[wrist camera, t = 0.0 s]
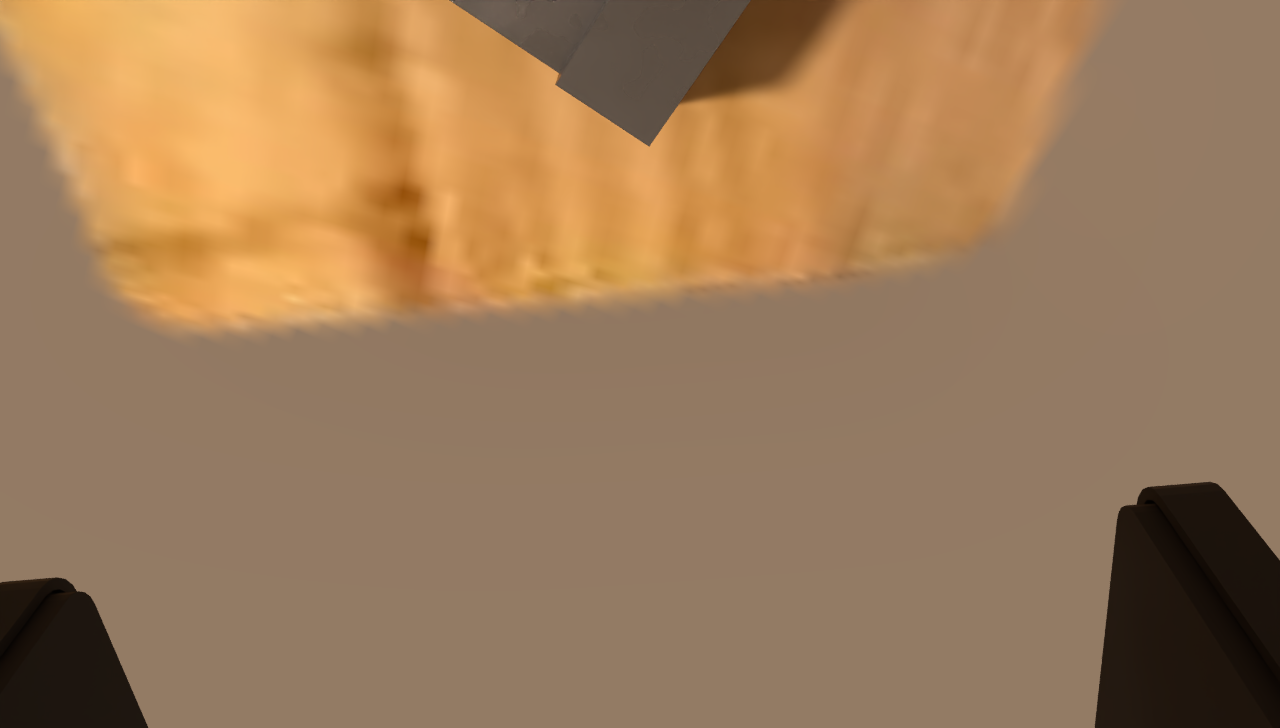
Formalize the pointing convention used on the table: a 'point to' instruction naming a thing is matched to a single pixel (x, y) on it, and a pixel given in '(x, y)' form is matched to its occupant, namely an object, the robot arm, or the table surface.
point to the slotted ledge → (617, 49)
